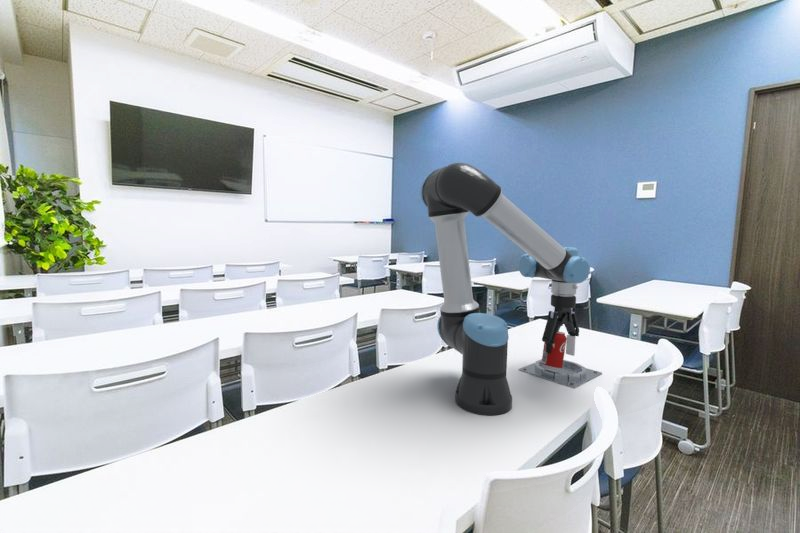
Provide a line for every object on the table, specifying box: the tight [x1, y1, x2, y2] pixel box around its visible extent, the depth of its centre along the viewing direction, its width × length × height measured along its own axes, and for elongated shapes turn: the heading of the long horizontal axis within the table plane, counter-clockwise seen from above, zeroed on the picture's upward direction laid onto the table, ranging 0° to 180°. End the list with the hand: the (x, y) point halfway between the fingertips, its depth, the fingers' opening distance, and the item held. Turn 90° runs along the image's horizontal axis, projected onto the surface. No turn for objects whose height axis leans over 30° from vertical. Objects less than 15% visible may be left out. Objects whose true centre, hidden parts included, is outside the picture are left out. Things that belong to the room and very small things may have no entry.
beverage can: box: [541, 330, 567, 371], centre depth 124 cm, size 6×6×12 cm
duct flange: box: [517, 358, 603, 389], centre depth 128 cm, size 19×19×2 cm
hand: (560, 358), depth 127 cm, fingers open, 13 cm apart
